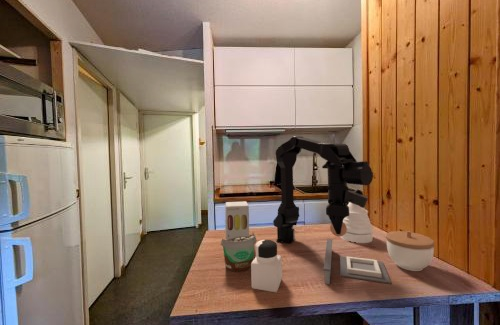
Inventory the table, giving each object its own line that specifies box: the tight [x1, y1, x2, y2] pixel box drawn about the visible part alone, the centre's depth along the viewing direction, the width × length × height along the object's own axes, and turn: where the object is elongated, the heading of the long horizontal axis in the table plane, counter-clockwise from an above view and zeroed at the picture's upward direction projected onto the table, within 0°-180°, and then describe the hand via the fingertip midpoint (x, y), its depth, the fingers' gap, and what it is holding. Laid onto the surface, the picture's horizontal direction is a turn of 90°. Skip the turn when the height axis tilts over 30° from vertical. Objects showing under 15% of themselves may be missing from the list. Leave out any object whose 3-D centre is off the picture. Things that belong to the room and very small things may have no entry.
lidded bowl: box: [385, 230, 435, 272], centre depth 73 cm, size 13×13×11 cm
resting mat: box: [339, 255, 392, 285], centre depth 72 cm, size 13×13×2 cm
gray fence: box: [323, 238, 333, 286], centre depth 75 cm, size 2×24×4 cm, turn 159°
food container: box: [220, 232, 258, 273], centre depth 74 cm, size 12×6×10 cm, turn 117°
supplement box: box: [224, 200, 250, 240], centre depth 95 cm, size 10×9×17 cm
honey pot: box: [340, 202, 373, 244], centre depth 99 cm, size 13×13×18 cm
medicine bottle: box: [250, 239, 283, 293], centre depth 65 cm, size 7×7×12 cm
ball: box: [329, 222, 347, 238], centre depth 74 cm, size 5×5×5 cm
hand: (338, 231), depth 74 cm, fingers closed on ball, 5 cm apart
